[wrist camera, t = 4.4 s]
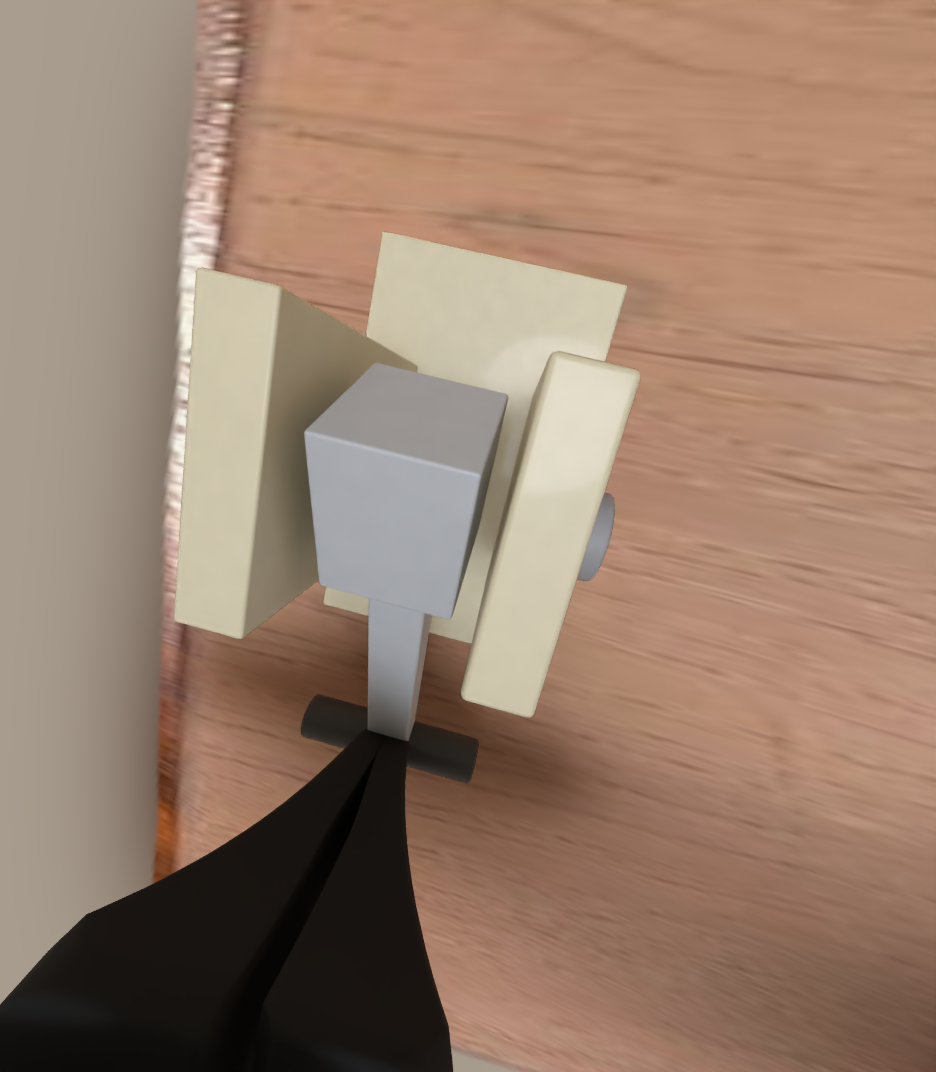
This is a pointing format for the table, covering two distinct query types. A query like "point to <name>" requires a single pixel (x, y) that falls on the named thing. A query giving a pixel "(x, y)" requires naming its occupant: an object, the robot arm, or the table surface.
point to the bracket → (432, 349)
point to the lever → (400, 539)
